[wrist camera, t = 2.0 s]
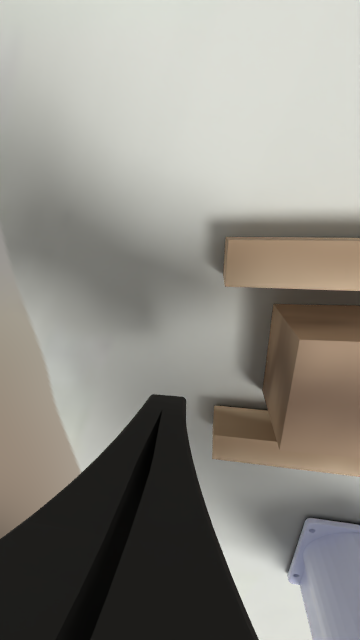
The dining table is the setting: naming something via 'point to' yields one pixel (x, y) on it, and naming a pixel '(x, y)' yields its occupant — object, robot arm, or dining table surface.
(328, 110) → the dining table surface
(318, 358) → the tan wooden block
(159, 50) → the dining table surface
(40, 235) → the dining table surface
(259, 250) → the trap lane
